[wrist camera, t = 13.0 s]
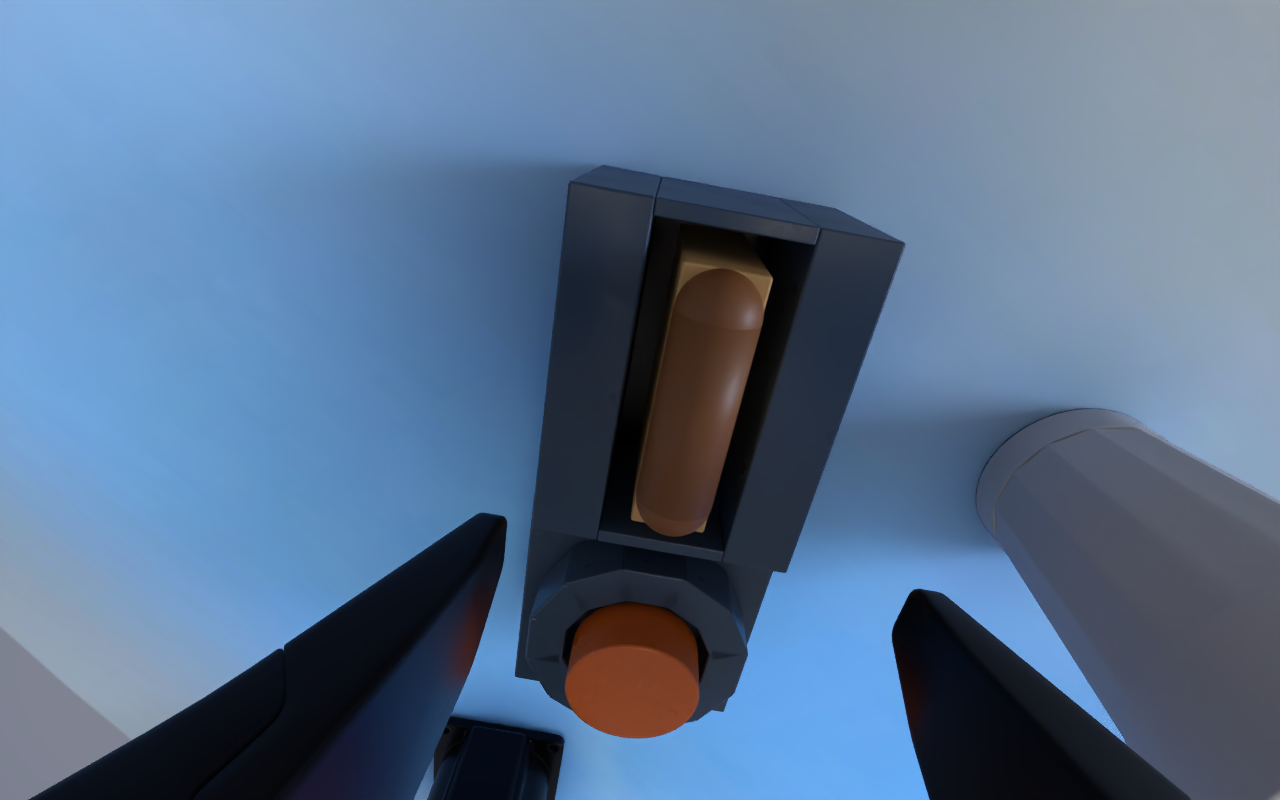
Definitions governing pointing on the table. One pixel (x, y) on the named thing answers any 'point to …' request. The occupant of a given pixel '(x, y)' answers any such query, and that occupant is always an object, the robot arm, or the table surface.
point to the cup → (1152, 590)
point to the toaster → (627, 341)
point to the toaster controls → (612, 573)
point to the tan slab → (698, 377)
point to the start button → (633, 671)
